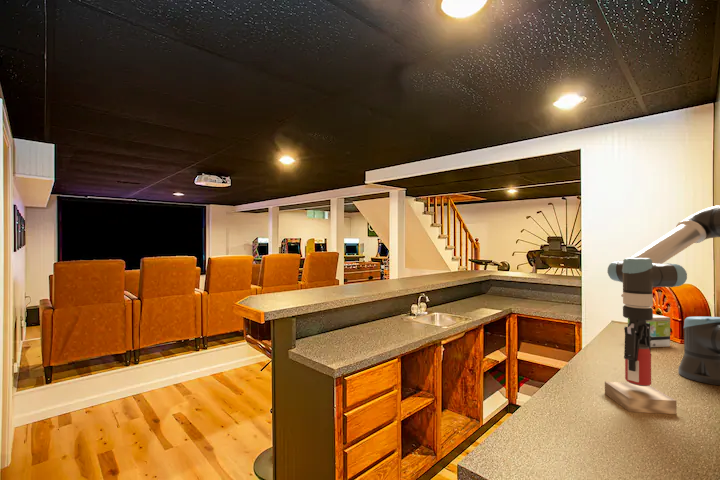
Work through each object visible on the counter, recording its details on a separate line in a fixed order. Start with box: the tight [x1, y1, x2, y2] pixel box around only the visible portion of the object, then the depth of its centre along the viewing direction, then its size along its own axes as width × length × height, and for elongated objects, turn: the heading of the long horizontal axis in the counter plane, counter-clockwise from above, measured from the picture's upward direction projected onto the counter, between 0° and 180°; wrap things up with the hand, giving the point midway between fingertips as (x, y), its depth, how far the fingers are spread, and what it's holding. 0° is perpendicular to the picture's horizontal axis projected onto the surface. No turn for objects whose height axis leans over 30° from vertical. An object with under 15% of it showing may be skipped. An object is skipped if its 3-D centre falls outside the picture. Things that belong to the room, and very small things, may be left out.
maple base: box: [604, 381, 678, 415], centre depth 112 cm, size 13×13×4 cm
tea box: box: [627, 313, 671, 348], centre depth 177 cm, size 15×10×15 cm, turn 102°
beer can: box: [624, 344, 652, 386], centre depth 112 cm, size 7×7×12 cm
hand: (638, 378), depth 112 cm, fingers closed on beer can, 6 cm apart
